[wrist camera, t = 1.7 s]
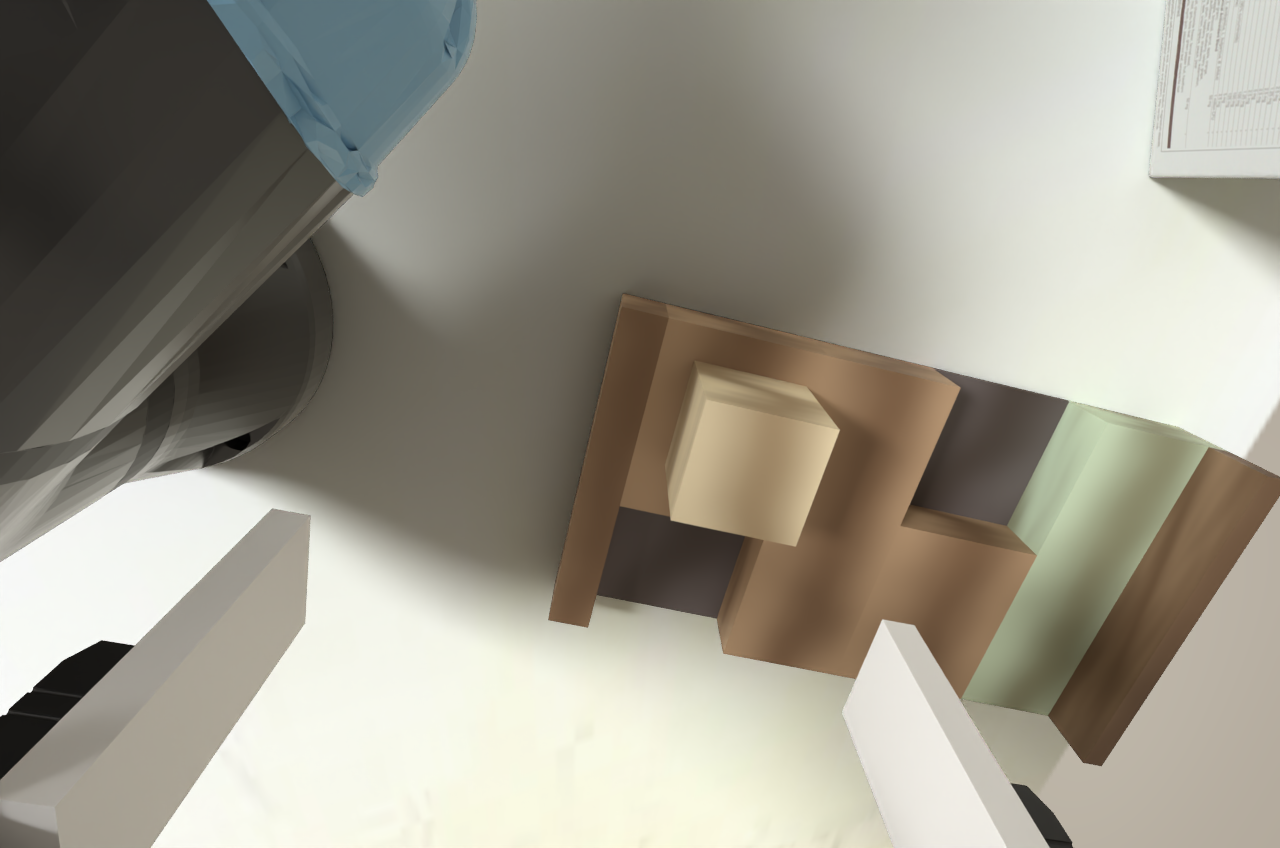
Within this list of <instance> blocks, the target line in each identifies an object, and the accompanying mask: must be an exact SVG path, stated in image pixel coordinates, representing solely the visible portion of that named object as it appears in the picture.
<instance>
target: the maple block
mask: <svg viewBox="0 0 1280 848" xmlns="http://www.w3.org/2000/svg"><path fill="white" fill-rule="evenodd" d="M839 431H840V429H839V428H838V427H837V426H836V424H835V423H834V422H833V420H832V419H831V418H830V416H829V415H828V414H827V413H826V411H825V410H824V409H823V407H822V406H821V405H820V403H819V402H818V401H817V399H816V398H815V397H814V396H813V394H812V393H811V392H810V390H809V389H808V388H807V386H802V385H798V384H794V383H789V382H785V381H781V380H777V379H772V378H768V377H764V376H759V375H755V374H751V373H747V372H742V371H738V370H734V369H730V368H725V367H721V366H717V365H712V364H708V363H704V362H700V361H695V360H694V363H693V367H692V370H691V374H690V378H689V381H688V385H687V388H686V392H685V395H684V399H683V402H682V406H681V409H680V413H679V417H678V420H677V424H676V427H675V431H674V434H673V438H672V441H671V445H670V448H669V452H668V456H667V459H666V463H665V471H666V480H667V490H668V499H669V509H670V518H671V521H676V522H680V523H685V524H690V525H695V526H700V527H704V528H709V529H714V530H719V531H723V532H728V533H733V534H738V535H743V536H747V537H752V538H757V539H762V540H766V541H771V542H776V543H781V544H786V545H790V546H795V547H796V545H797V542H798V539H799V537H800V534H801V532H802V529H803V526H804V524H805V521H806V518H807V516H808V513H809V510H810V508H811V505H812V502H813V500H814V497H815V495H816V492H817V489H818V487H819V484H820V481H821V479H822V476H823V473H824V471H825V468H826V465H827V463H828V460H829V458H830V455H831V452H832V450H833V447H834V444H835V442H836V439H837V436H838V434H839Z"/></svg>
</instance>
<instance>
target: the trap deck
mask: <svg viewBox="0 0 1280 848" xmlns="http://www.w3.org/2000/svg"><path fill="white" fill-rule="evenodd" d="M694 360H695V361H700V362H704V363H708V364H712V365H717V366H721V367H725V368H730V369H734V370H738V371H742V372H747V373H751V374H755V375H759V376H764V377H768V378H772V379H777V380H781V381H785V382H789V383H794V384H798V385H802V386H807V388H808V389H809V390H810V392H811V393H812V394H813V396H814V397H815V398H816V399H817V401H818V402H819V403H820V405H821V406H822V407H823V409H824V410H825V411H826V413H827V414H828V415H829V416H830V418H831V419H832V420H833V422H834V423H835V424H836V426H837V427H838V428H839V429H840V431H839V434H838V436H837V439H836V442H835V444H834V447H833V450H832V452H831V455H830V458H829V460H828V463H827V465H826V468H825V471H824V473H823V476H822V479H821V481H820V484H819V487H818V489H817V492H816V495H815V497H814V500H813V502H812V505H811V508H810V510H809V513H808V516H807V518H806V521H805V524H804V526H803V529H802V532H801V534H800V537H799V539H798V542H797V545H796V547H795V546H790V545H786V544H781V543H776V542H771V541H766V540H762V539H757V538H752V537H747V536H743V535H738V534H733V533H728V532H723V531H719V530H714V529H709V528H704V527H700V526H695V525H690V524H685V523H680V522H676V521H671V518H670V509H669V499H668V490H667V480H666V471H665V463H666V459H667V456H668V452H669V448H670V445H671V441H672V438H673V434H674V431H675V427H676V424H677V420H678V417H679V413H680V409H681V406H682V402H683V399H684V395H685V392H686V388H687V385H688V381H689V378H690V374H691V370H692V367H693V363H694ZM1279 496H1280V477H1279V476H1277V475H1275V474H1273V473H1271V472H1268V471H1267V470H1265V469H1263V468H1261V467H1259V466H1257V465H1255V464H1253V463H1250V462H1248V461H1246V460H1244V459H1242V458H1240V457H1238V456H1236V455H1234V454H1232V453H1230V452H1228V451H1226V450H1224V449H1222V448H1220V447H1218V446H1216V445H1214V444H1212V443H1210V442H1208V441H1206V440H1204V439H1202V438H1199V437H1197V436H1195V435H1193V434H1191V433H1189V432H1187V431H1185V430H1183V429H1181V428H1179V427H1176V426H1172V425H1167V424H1163V423H1159V422H1155V421H1151V420H1147V419H1143V418H1138V417H1134V416H1130V415H1126V414H1122V413H1118V412H1114V411H1109V410H1105V409H1101V408H1097V407H1093V406H1089V405H1085V404H1080V403H1076V402H1072V401H1068V400H1064V399H1060V398H1055V397H1051V396H1047V395H1043V394H1039V393H1035V392H1031V391H1026V390H1022V389H1018V388H1014V387H1010V386H1006V385H1002V384H997V383H993V382H989V381H985V380H981V379H977V378H973V377H968V376H964V375H960V374H956V373H952V372H948V371H944V370H939V369H935V368H931V367H927V366H923V365H919V364H914V363H910V362H906V361H902V360H898V359H894V358H890V357H885V356H881V355H877V354H873V353H869V352H865V351H861V350H856V349H852V348H848V347H844V346H840V345H836V344H832V343H827V342H823V341H819V340H815V339H811V338H807V337H802V336H798V335H794V334H790V333H786V332H782V331H778V330H773V329H769V328H765V327H761V326H757V325H753V324H749V323H744V322H740V321H736V320H732V319H728V318H724V317H720V316H715V315H711V314H707V313H703V312H699V311H695V310H691V309H686V308H682V307H678V306H674V305H670V304H666V303H661V302H657V301H653V300H649V299H645V298H641V297H637V296H632V295H628V294H624V293H623V294H622V298H621V303H620V307H619V311H618V316H617V320H616V324H615V328H614V333H613V337H612V341H611V346H610V350H609V354H608V358H607V363H606V367H605V371H604V376H603V380H602V384H601V388H600V393H599V397H598V401H597V406H596V410H595V414H594V419H593V423H592V427H591V431H590V436H589V440H588V444H587V449H586V453H585V457H584V461H583V466H582V470H581V474H580V479H579V483H578V487H577V491H576V496H575V500H574V504H573V509H572V513H571V517H570V521H569V526H568V530H567V534H566V539H565V543H564V547H563V551H562V556H561V560H560V564H559V569H558V573H557V577H556V581H555V586H554V592H553V597H552V602H551V608H550V613H549V619H548V620H551V621H556V622H561V623H567V624H572V625H577V626H582V627H588V625H589V622H590V618H591V614H592V610H593V606H594V603H595V599H596V595H600V596H605V597H610V598H616V599H621V600H626V601H631V602H636V603H641V604H646V605H651V606H656V607H661V608H666V609H672V610H677V611H682V612H687V613H692V614H697V615H702V616H707V617H712V618H717V622H718V628H719V633H720V639H721V644H722V649H723V654H729V655H734V656H739V657H744V658H750V659H755V660H760V661H765V662H770V663H776V664H781V665H786V666H791V667H797V668H802V669H807V670H812V671H817V672H823V673H828V674H833V675H838V676H844V677H849V678H854V679H856V678H857V676H858V674H859V672H860V669H861V667H862V665H863V662H864V660H865V658H866V656H867V653H868V651H869V649H870V646H871V644H872V642H873V640H874V637H875V635H876V633H877V630H878V628H879V626H880V624H881V621H882V619H883V620H888V621H894V622H899V623H905V624H911V625H915V627H916V629H917V630H918V632H919V634H920V635H921V637H922V639H923V640H924V642H925V643H926V645H927V647H928V648H929V650H930V652H931V653H932V655H933V657H934V658H935V660H936V662H937V663H938V665H939V666H940V668H941V670H942V671H943V673H944V675H945V676H946V678H947V680H948V681H949V683H950V685H951V686H952V688H953V690H954V691H955V693H956V694H957V696H958V698H959V699H964V700H969V701H974V702H979V703H985V704H990V705H995V706H1000V707H1006V708H1011V709H1016V710H1021V711H1026V712H1032V713H1037V714H1042V715H1047V716H1049V718H1050V719H1051V720H1052V722H1053V723H1054V724H1055V726H1056V727H1057V728H1058V730H1059V731H1060V732H1061V734H1062V735H1063V736H1064V738H1065V739H1066V740H1067V742H1068V743H1069V744H1070V746H1071V747H1072V748H1073V750H1074V751H1075V752H1076V754H1077V755H1078V757H1079V758H1080V759H1081V760H1082V762H1083V763H1088V764H1093V765H1098V766H1102V765H1103V763H1104V762H1105V760H1106V758H1107V757H1108V755H1109V754H1110V753H1111V751H1112V749H1113V748H1114V746H1115V745H1116V743H1117V742H1118V740H1119V739H1120V737H1121V736H1122V734H1123V733H1124V731H1125V730H1126V728H1127V727H1128V725H1129V724H1130V722H1131V721H1132V719H1133V718H1134V716H1135V715H1136V713H1137V712H1138V710H1139V709H1140V707H1141V705H1142V704H1143V702H1144V701H1145V699H1146V698H1147V696H1148V694H1149V693H1150V692H1151V690H1152V689H1153V687H1154V686H1155V684H1156V683H1157V681H1158V680H1159V678H1160V677H1161V675H1162V674H1163V672H1164V671H1165V669H1166V667H1167V666H1168V664H1169V663H1170V662H1171V660H1172V659H1173V657H1174V656H1175V654H1176V652H1177V651H1178V649H1179V648H1180V646H1181V645H1182V643H1183V642H1184V640H1185V639H1186V637H1187V636H1188V634H1189V633H1190V631H1191V630H1192V628H1193V627H1194V625H1195V624H1196V622H1197V621H1198V619H1199V618H1200V616H1201V615H1202V613H1203V612H1204V610H1205V609H1206V607H1207V605H1208V604H1209V602H1210V601H1211V599H1212V598H1213V596H1214V595H1215V593H1216V592H1217V590H1218V589H1219V587H1220V586H1221V584H1222V583H1223V581H1224V580H1225V578H1226V577H1227V575H1228V574H1229V572H1230V571H1231V569H1232V568H1233V566H1234V564H1235V563H1236V562H1237V560H1238V558H1239V557H1240V555H1241V554H1242V552H1243V551H1244V549H1245V548H1246V546H1247V545H1248V543H1249V542H1250V540H1251V539H1252V537H1253V536H1254V534H1255V533H1256V531H1257V530H1258V528H1259V527H1260V525H1261V524H1262V522H1263V521H1264V519H1265V518H1266V516H1267V514H1268V513H1269V511H1270V510H1271V508H1272V507H1273V505H1274V504H1275V502H1276V501H1277V499H1278V498H1279Z"/></svg>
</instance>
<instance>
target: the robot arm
mask: <svg viewBox="0 0 1280 848" xmlns="http://www.w3.org/2000/svg"><path fill="white" fill-rule="evenodd" d="M476 20H477V12H476V0H0V562H1V561H3V560H4V559H6V558H8V557H9V556H11V555H12V554H14V553H15V552H17V551H19V550H20V549H22V548H23V547H25V546H27V545H28V544H30V543H31V542H33V541H34V540H36V539H38V538H39V537H41V536H42V535H44V534H45V533H47V532H49V531H50V530H52V529H53V528H55V527H56V526H58V525H60V524H61V523H63V522H64V521H66V520H68V519H69V518H71V517H72V516H74V515H75V514H77V513H79V512H80V511H82V510H83V509H85V508H86V507H88V506H90V505H91V504H93V503H94V502H96V501H98V500H99V499H101V498H102V497H103V496H105V495H106V494H108V493H109V492H111V491H113V490H114V489H116V488H117V487H119V486H120V485H122V484H124V483H129V482H134V481H139V480H144V479H149V478H154V477H159V476H165V475H170V474H175V473H180V472H185V471H190V470H195V469H200V468H205V467H209V466H213V465H217V464H220V463H223V462H226V461H229V460H231V459H234V458H236V457H238V456H241V455H243V454H245V453H247V452H249V451H251V450H252V449H254V448H256V447H257V446H259V445H260V444H262V443H264V442H265V441H266V440H267V439H269V438H270V437H271V436H273V435H274V434H275V433H277V432H278V431H279V430H281V429H282V428H283V427H285V426H286V425H287V424H288V423H290V422H291V421H292V420H293V419H294V418H295V417H296V416H297V415H298V414H299V413H300V412H301V411H302V410H303V409H304V408H305V406H306V405H307V404H308V402H309V401H310V400H311V398H312V397H313V395H314V394H315V392H316V390H317V388H318V386H319V384H320V382H321V380H322V378H323V375H324V373H325V370H326V367H327V364H328V360H329V356H330V351H331V345H332V336H333V313H332V304H331V297H330V292H329V287H328V283H327V279H326V276H325V273H324V270H323V267H322V264H321V261H320V259H319V256H318V254H317V251H316V249H315V247H314V245H313V243H312V241H311V239H310V237H311V236H312V235H313V234H314V233H315V232H316V231H317V230H318V229H319V228H320V227H321V226H322V225H323V224H324V223H325V222H326V221H327V220H328V219H329V218H330V217H331V216H332V215H333V214H334V213H335V212H336V211H337V210H338V209H339V208H340V207H341V206H342V205H343V204H344V203H345V202H346V201H347V200H348V199H349V198H350V197H351V196H352V195H353V194H355V195H358V196H361V197H363V196H364V195H365V194H366V193H367V192H369V191H370V190H371V189H372V188H373V187H374V183H375V182H376V180H377V178H378V165H379V164H380V163H381V162H382V161H383V160H384V159H385V158H386V156H387V155H388V154H389V153H390V152H391V151H392V150H393V149H394V147H395V146H396V145H397V144H398V143H399V142H400V141H401V140H402V139H403V137H404V136H405V135H406V134H407V133H408V132H409V131H410V130H411V129H412V127H413V126H414V125H415V124H416V123H417V122H418V121H419V120H420V119H421V117H422V116H423V115H424V114H425V113H426V112H427V111H428V110H429V108H430V107H431V106H432V105H433V104H434V103H435V102H436V101H437V100H438V98H439V97H440V96H441V95H442V94H443V93H444V92H445V91H446V90H447V88H448V87H449V86H450V85H451V84H452V83H453V82H454V81H455V79H456V78H457V77H458V75H459V74H460V72H461V71H462V69H463V67H464V66H465V64H466V62H467V59H468V57H469V55H470V52H471V49H472V46H473V41H474V37H475V31H476ZM310 518H311V516H310V515H305V514H299V513H294V512H288V511H283V510H277V509H271V510H270V511H269V512H268V513H267V514H266V515H265V516H264V517H263V518H262V519H261V520H260V521H259V522H258V523H257V524H256V525H255V526H254V527H253V528H252V529H251V530H250V531H249V532H248V533H247V534H246V535H245V536H244V537H243V538H242V539H241V540H240V541H239V542H238V543H237V544H236V545H235V546H234V547H233V548H232V549H231V550H230V551H229V552H228V553H227V554H226V555H225V556H224V557H223V558H222V559H221V560H220V561H219V562H218V563H217V564H216V565H215V566H214V567H213V568H212V569H211V570H210V571H209V572H208V573H207V574H206V575H205V576H204V577H203V578H202V579H201V580H200V581H199V582H198V583H197V584H196V585H195V586H194V587H193V588H192V589H191V590H190V591H189V592H188V593H187V594H186V595H185V596H184V597H183V598H182V599H181V600H180V601H179V602H178V603H177V604H176V605H175V606H174V607H173V608H172V609H171V610H170V611H169V612H168V613H167V614H166V615H165V616H164V617H163V618H162V619H161V620H160V621H159V622H158V623H157V624H156V625H155V626H154V627H153V628H152V629H151V630H150V631H149V632H148V633H147V634H146V635H145V636H144V637H143V638H142V639H141V640H140V641H139V642H138V643H137V644H136V645H135V646H133V645H127V644H121V643H115V642H108V641H102V640H101V641H99V642H98V643H96V644H94V645H92V646H90V647H88V648H86V649H84V650H82V651H80V652H79V653H77V654H75V655H73V656H71V657H69V658H67V659H65V660H63V661H62V662H61V663H60V664H59V665H58V666H56V667H55V668H54V669H53V670H52V671H51V672H50V673H49V674H48V675H46V676H45V677H44V678H43V679H42V680H41V681H40V682H39V683H38V684H36V685H35V686H34V687H33V690H32V692H31V693H28V692H27V693H26V694H25V695H24V696H23V697H22V698H21V699H20V700H19V701H17V702H16V703H15V704H14V705H13V706H12V707H11V708H10V709H9V711H8V713H7V714H6V715H2V716H1V717H0V848H151V846H152V845H153V843H154V842H155V840H156V839H157V837H158V836H159V834H160V833H161V832H162V830H163V829H164V827H165V826H166V824H167V823H168V821H169V820H170V819H171V817H172V816H173V814H174V813H175V811H176V810H177V808H178V807H179V805H180V804H181V803H182V801H183V800H184V798H185V797H186V795H187V794H188V792H189V791H190V789H191V788H192V787H193V785H194V784H195V782H196V781H197V779H198V778H199V776H200V775H201V773H202V772H203V771H204V769H205V768H206V766H207V765H208V763H209V762H210V760H211V759H212V757H213V756H214V755H215V753H216V752H217V750H218V749H219V747H220V746H221V744H222V743H223V742H224V740H225V739H226V737H227V736H228V734H229V733H230V731H231V730H232V728H233V727H234V726H235V724H236V723H237V721H238V720H239V718H240V717H241V715H242V714H243V712H244V711H245V710H246V708H247V707H248V705H249V704H250V702H251V701H252V699H253V698H254V696H255V695H256V694H257V692H258V691H259V689H260V688H261V686H262V685H263V683H264V682H265V680H266V679H267V678H268V676H269V675H270V673H271V672H272V670H273V669H274V667H275V666H276V665H277V663H278V662H279V660H280V659H281V657H282V656H283V654H284V653H285V651H286V650H287V649H288V647H289V646H290V644H291V643H292V641H293V640H294V638H295V637H296V635H297V634H298V633H299V631H300V630H301V628H302V627H303V625H304V624H305V615H306V595H307V576H308V557H309V537H310ZM842 714H843V717H844V719H845V722H846V725H847V727H848V730H849V732H850V735H851V738H852V740H853V743H854V746H855V748H856V751H857V753H858V756H859V759H860V761H861V764H862V766H863V769H864V772H865V774H866V777H867V779H868V782H869V785H870V787H871V790H872V793H873V795H874V798H875V800H876V803H877V806H878V808H879V811H880V813H881V816H882V819H883V821H884V824H885V826H886V829H887V832H888V834H889V837H890V840H891V842H892V845H893V847H894V848H1073V847H1072V841H1071V840H1070V838H1069V836H1068V835H1067V833H1066V832H1065V830H1064V829H1063V827H1062V826H1061V824H1060V823H1059V821H1058V820H1057V818H1056V816H1055V815H1054V813H1053V812H1052V811H1051V810H1050V809H1049V808H1048V807H1047V806H1046V805H1045V804H1044V803H1043V802H1042V801H1041V800H1040V799H1039V798H1038V797H1037V796H1036V795H1035V794H1034V793H1033V792H1032V791H1031V790H1030V789H1029V788H1028V787H1027V786H1024V785H1018V784H1012V783H1010V782H1009V780H1008V778H1007V777H1006V775H1005V773H1004V772H1003V770H1002V768H1001V767H1000V765H999V764H998V762H997V760H996V759H995V757H994V755H993V754H992V752H991V750H990V749H989V747H988V745H987V744H986V742H985V741H984V739H983V737H982V736H981V734H980V732H979V731H978V729H977V727H976V726H975V724H974V722H973V721H972V719H971V717H970V716H969V714H968V713H967V711H966V709H965V708H964V706H963V704H962V703H961V701H960V699H959V698H958V696H957V694H956V693H955V691H954V690H953V688H952V686H951V685H950V683H949V681H948V680H947V678H946V676H945V675H944V673H943V671H942V670H941V668H940V666H939V665H938V663H937V662H936V660H935V658H934V657H933V655H932V653H931V652H930V650H929V648H928V647H927V645H926V643H925V642H924V640H923V639H922V637H921V635H920V634H919V632H918V630H917V629H916V627H915V625H911V624H905V623H899V622H894V621H888V620H883V619H882V621H881V624H880V626H879V628H878V630H877V633H876V635H875V637H874V640H873V642H872V644H871V646H870V649H869V651H868V653H867V656H866V658H865V660H864V662H863V665H862V667H861V669H860V672H859V674H858V676H857V678H856V681H855V683H854V685H853V688H852V690H851V692H850V694H849V697H848V699H847V701H846V704H845V706H844V708H843V710H842Z"/></svg>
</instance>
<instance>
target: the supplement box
mask: <svg viewBox="0 0 1280 848" xmlns="http://www.w3.org/2000/svg"><path fill="white" fill-rule="evenodd" d="M1149 175H1150V177H1152V178H1168V177H1177V178H1265V179H1280V0H1167V1H1166V10H1165V20H1164V30H1163V39H1162V49H1161V59H1160V68H1159V78H1158V88H1157V98H1156V108H1155V118H1154V128H1153V138H1152V148H1151V157H1150V167H1149Z"/></svg>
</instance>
